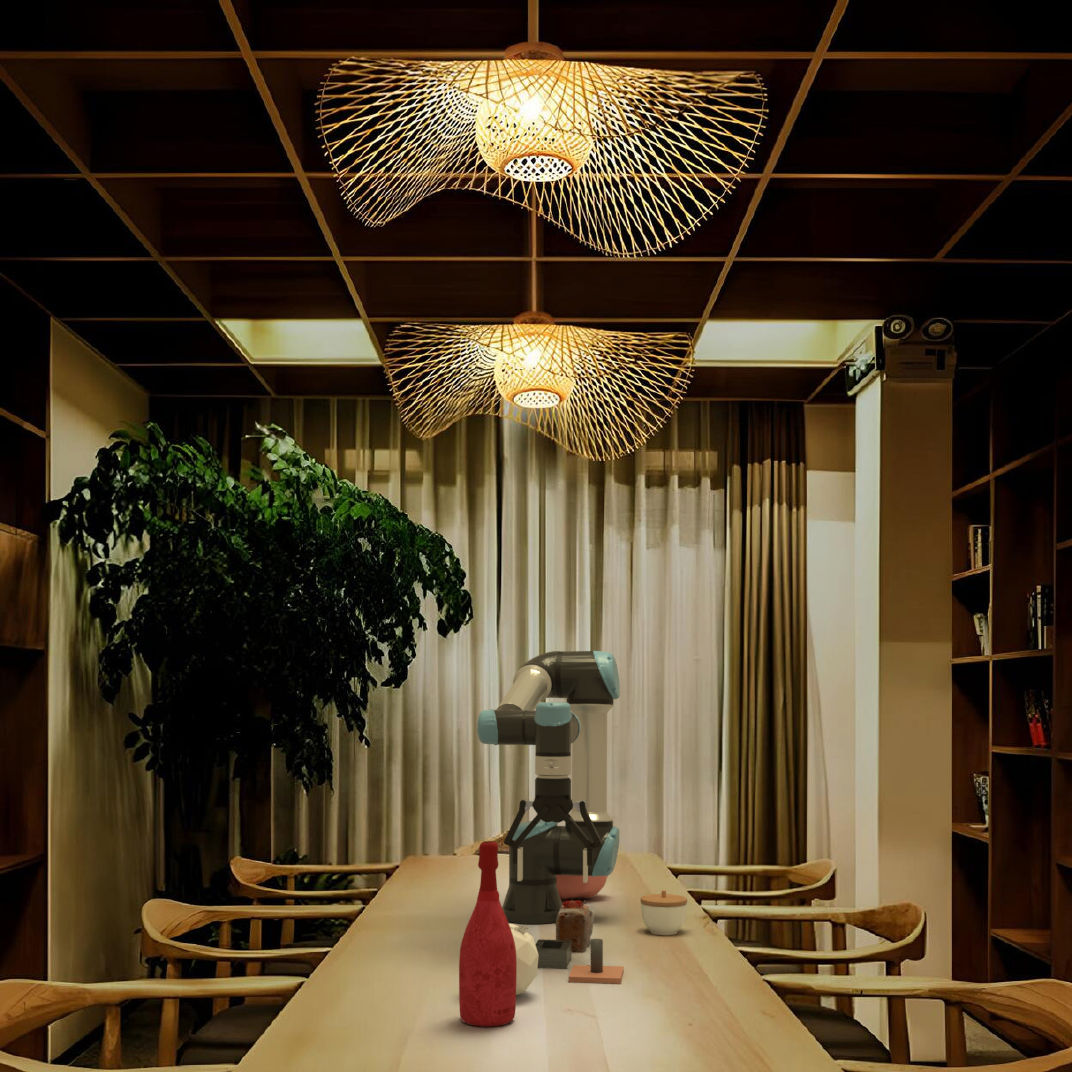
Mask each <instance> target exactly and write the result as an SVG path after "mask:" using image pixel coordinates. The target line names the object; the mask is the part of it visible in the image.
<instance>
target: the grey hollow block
mask: <svg viewBox="0 0 1072 1072" xmlns="http://www.w3.org/2000/svg"><path fill="white" fill-rule="evenodd" d="M535 945H536V948H537V952H538V967H537V969H539V968H541V969H542V968H543V969H567V968H568V967H569V965H570V962H571V960H572V957H573V956H572V954H573V952H572V940H556V939H539V938H538V939H537V941H536V942H535Z"/></svg>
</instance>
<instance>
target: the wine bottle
mask: <svg viewBox="0 0 1072 1072" xmlns="http://www.w3.org/2000/svg"><path fill="white" fill-rule="evenodd" d="M478 850H479V853H478V854H479V855H478V863H477V867H478V868H479V869H480V882H479V883H480V884H479V889H478V895H477V897H476V903H475V905H474V909H473V910H472V913H471V915H470V918H469V920H468V922H467V924H466V927H465V929H464V930H465V931H464V932H463V936H462V938H461V943H460V949H459V959H458V960H459V962H458V978H459V979H458V995H459V996H458V998H459V999H458V1000H459V1017H460V1019H461V1021H462V1022H464V1023H465V1024H467V1025H471V1026H474V1027H483V1028H486V1027H487V1028H488V1027H489V1028H490V1027H499V1026H504V1025H507V1024H509V1023H511V1022H512V1021H513V1020H514V1018H515V1017H516V1008H517V1007H516V1006H517V1005H516V1003H517V995H516V974H517V962H516V947H515V942H514V938H513V935H512V931H511V928H510V926H509V924H510V922H509V921H507V918H506V916H505V914H504V911H503V909H502V907H503V905H502V904H501V901H500V892H499V891H498V883H497V882H498V881H497V870H498V867H499V858H498V857H499V856H498V854H499V852H498V851H499V845H498V843H497V841H492V840H485V841H482V842H481V843H480V845H479V847H478Z"/></svg>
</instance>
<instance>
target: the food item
mask: <svg viewBox="0 0 1072 1072" xmlns="http://www.w3.org/2000/svg"><path fill="white" fill-rule="evenodd" d="M585 903H586V899H585V900H584V901H581V900H578V899H577V900H573V899H571V900H563V902H562V907H560V908H561V909H560V911H559V913H558V915H557V918H556V922H554V924H555V940H572V953H583V952H584V951H585V950H586V948H588V947H589V946H590V945H589V944H590V942H591V936H592V934H593V929H594V928H593V927H594V914H593V909H591V910H590V907H589V906H587V905H586V904H585Z"/></svg>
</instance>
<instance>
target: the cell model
mask: <svg viewBox="0 0 1072 1072" xmlns="http://www.w3.org/2000/svg"><path fill="white" fill-rule="evenodd" d="M608 877H609V875H608V876H595V877H592V876H588V881H587V883H583V876H575V875H557V888H558V892H559V895H560V898H561V901H562V900H563V901H570V900H569V899H571V900H576V899H577V900H578V899H589V898H593V897H594V896H596V895H598V894H599V893H600V892H601V891H602V889H603V888H604V887H605V885H606V883H607V880H608Z"/></svg>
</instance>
